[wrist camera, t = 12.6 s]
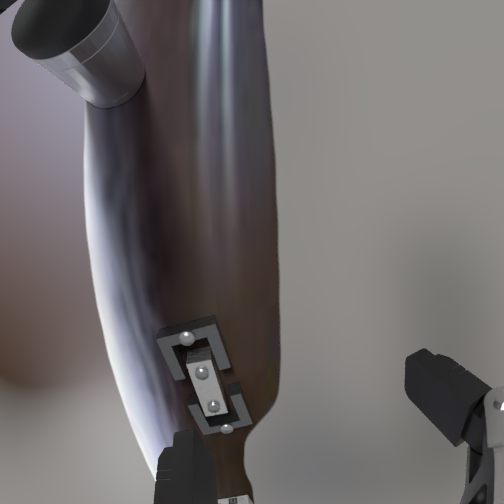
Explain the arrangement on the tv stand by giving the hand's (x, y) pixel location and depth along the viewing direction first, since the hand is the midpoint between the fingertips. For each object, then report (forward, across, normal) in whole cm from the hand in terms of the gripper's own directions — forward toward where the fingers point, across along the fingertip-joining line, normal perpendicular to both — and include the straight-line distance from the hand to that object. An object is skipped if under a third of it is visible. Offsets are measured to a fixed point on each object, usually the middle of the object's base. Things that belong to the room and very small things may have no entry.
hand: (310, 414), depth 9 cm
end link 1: (+30, +9, +11) cm, 33 cm away
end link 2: (+30, +9, +23) cm, 39 cm away
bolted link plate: (+30, +9, +17) cm, 36 cm away
